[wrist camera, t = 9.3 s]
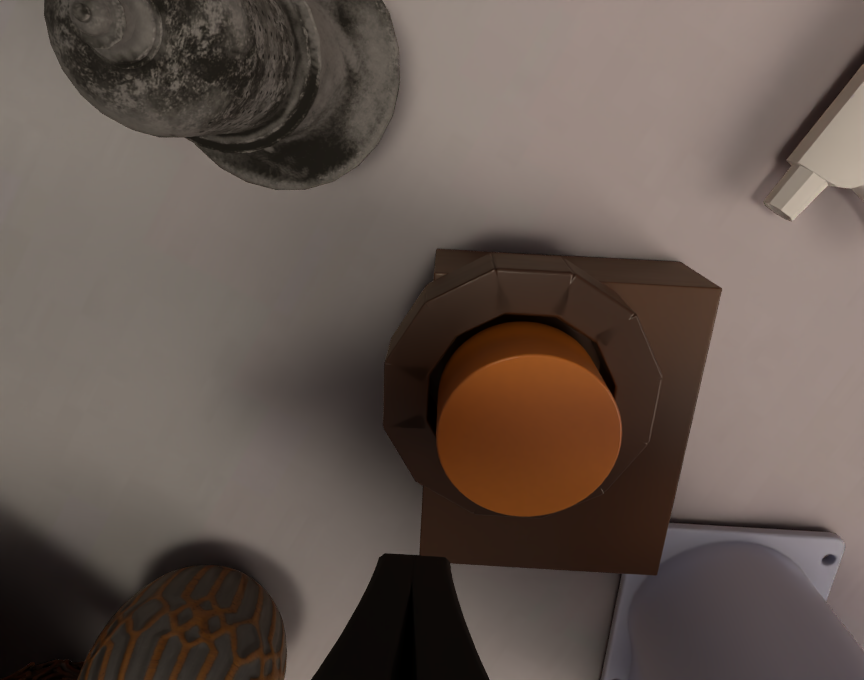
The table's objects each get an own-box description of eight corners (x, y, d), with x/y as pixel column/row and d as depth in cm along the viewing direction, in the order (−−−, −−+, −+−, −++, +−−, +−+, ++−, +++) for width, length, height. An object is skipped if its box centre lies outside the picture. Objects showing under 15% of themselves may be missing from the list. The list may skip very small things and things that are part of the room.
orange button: (587, 470, 17) (607, 523, 15) (434, 461, 17) (431, 512, 15) (611, 325, 16) (637, 359, 13) (442, 315, 16) (440, 348, 13)
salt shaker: (279, -88, 16) (-87, -518, 5) (449, 53, 18) (447, -53, 6) (178, 97, 18) (-259, 69, 7) (338, 215, 19) (183, 354, 8)
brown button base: (630, 516, 23) (676, 618, 18) (393, 502, 23) (378, 600, 19) (685, 241, 19) (760, 282, 15) (402, 226, 19) (386, 262, 15)
